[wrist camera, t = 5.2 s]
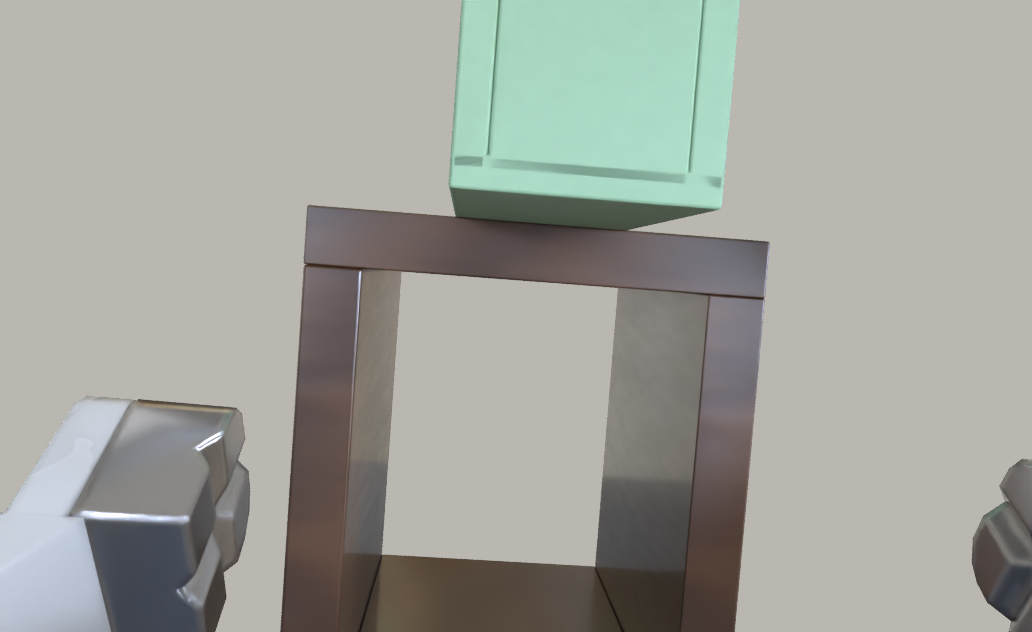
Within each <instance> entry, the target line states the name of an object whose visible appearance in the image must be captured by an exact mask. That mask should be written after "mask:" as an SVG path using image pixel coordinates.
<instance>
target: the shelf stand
mask: <svg viewBox="0 0 1032 632" xmlns="http://www.w3.org/2000/svg"><path fill="white" fill-rule="evenodd" d="M306 219H307V220H306V234H305V251H304V264H307V265H305V266H304V271H303V287H302V302H301V319H300V334H299V350H298V365H297V380H296V396H295V412H294V413H295V414H294V428H293V444H292V459H291V475H290V491H289V506H288V522H287V537H286V553H285V568H284V584H283V600H282V617H281V631H280V632H735V621H736V611H737V600H738V589H739V576H740V567H741V556H742V544H743V534H744V522H745V512H746V501H747V489H748V478H749V467H750V455H751V445H752V434H753V423H754V412H755V401H756V389H757V379H758V368H759V357H760V346H761V335H762V324H763V313H764V302H765V300H764V298H765V291H766V280H767V269H768V258H769V246H770V243H769V242H766V241H753V240H740V239H728V238H716V237H703V236H691V235H677V234H666V233H653V232H641V231H628V230H615V229H603V228H590V227H578V226H565V225H553V224H540V223H527V222H515V221H502V220H490V219H477V218H465V217H452V216H439V215H427V214H414V213H413V214H412V213H402V212H389V211H377V210H364V209H351V208H339V207H338V208H337V207H326V206H314V205H313V206H312V205H308V207H307V218H306ZM401 271H403V272H416V273H430V274H443V275H456V276H469V277H482V278H495V279H508V280H523V281H535V282H548V283H562V284H575V285H588V286H602V287H614V288H618V295H617V309H616V320H615V333H614V345H613V356H612V369H611V382H610V393H609V405H608V418H607V430H606V442H605V455H604V466H603V478H602V490H601V503H600V516H599V528H598V539H597V551H596V563H595V567H591V566H574V565H573V566H572V565H557V564H539V563H521V562H503V561H485V560H468V559H450V558H433V557H415V556H398V555H382V543H383V528H384V514H385V500H386V499H385V498H386V485H387V470H388V456H389V442H390V428H391V427H390V426H391V413H392V399H393V385H394V370H395V356H396V340H397V326H398V312H399V298H400V284H401Z"/></svg>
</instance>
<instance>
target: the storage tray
mask: <svg viewBox="0 0 1032 632" xmlns="http://www.w3.org/2000/svg"><path fill="white" fill-rule="evenodd" d="M739 6H740V0H462V7H461V21H460V35H459V48H458V62H457V76H456V90H455V103H454V117H453V131H452V146H451V159H450V173H449V188H450V192H451V197H452V202H453V206H454V211H455V215H456V217H465V218H477V219H490V220H502V221H515V222H527V223H540V224H553V225H565V226H578V227H590V228H603V229H615V230H629V229H634V228H639V227H643V226H648V225H652V224H657V223H661V222H666V221H670V220H675V219H679V218H684V217H688V216H693V215H697V214H702V213H706V212H711V211H715V210H719V209H721V207H722V198H723V188H724V177H725V166H726V154H727V142H728V132H729V119H730V109H731V97H732V86H733V75H734V63H735V52H736V40H737V28H738V16H739Z"/></svg>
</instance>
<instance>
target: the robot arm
mask: <svg viewBox="0 0 1032 632" xmlns="http://www.w3.org/2000/svg"><path fill="white" fill-rule="evenodd" d="M244 441H245V433H244V425H243V418H242V413H241V412H240V411H239V410H238V409H237V408H232V407H221V406H209V405H198V404H187V403H175V402H164V401H151V400H141V399H138V400H137V401H136V400H130V399H119V398H108V397H95V396H86V397H85V398H83V399H81V400H80V401H78V402H77V403H75V404H74V406H73V407H72V408H71V410H70V412H69V413H68V415H67V416H66V418H65V419H64V421H63V423H62V424H61V426H60V427H59V429H58V430H57V432H56V434H55V435H54V437H53V438H52V440H51V441H50V443H49V444H48V446H47V448H46V449H45V451H44V452H43V454H42V455H41V457H40V459H39V460H38V462H37V463H36V465H35V466H34V468H33V469H32V471H31V472H30V474H29V476H28V477H27V479H26V480H25V482H24V483H23V485H22V487H21V488H20V490H19V491H18V493H17V494H16V496H15V497H14V499H13V501H12V502H11V504H10V505H9V507H8V508H7V510H6V512H5V513H0V632H215V631H216V628H217V624H218V621H219V618H220V615H221V612H222V609H223V606H224V603H225V600H226V590H225V581H224V572H225V571H226V570H228V569H229V568H230V567H231V566H233V565H234V564H235V563H236V562H238V559H239V556H240V552H241V549H242V546H243V542H244V539H245V534H246V528H247V522H248V516H249V507H250V483H249V472H248V470H247V469H246V468H245V467H244V466H243V465H242V464H241V463H240V462H239V461H238V457H239V455H240V452H241V449H242V447H243V444H244ZM1000 489H1001V491H1002V494H1003V497H1004V499H1005V502H1004V503H1003V504H1001V505H999V506H998V507H996V508H995V509H993V510H992V511H990V512H989V513H987V514H986V515H984V516H983V518H982V520H981V522H980V524H979V527H978V529H977V531H976V533H975V535H974V537H973V549H972V565H973V569H974V573H975V577H976V581H977V584H978V586H979V587H980V589H981V591H982V593H983V595H984V597H985V599H986V601H987V603H989V604H990V605H991V606H993V607H994V608H995V609H996V610H998V611H999V612H1000V613H1002V614H1003V615H1004V616H1005V617H1007V618H1008V619H1009V620H1010V621H1011V624H1010V628H1009V632H1032V459H1021V460H1020V461H1019V462H1017V463H1016V464H1015V465H1013V466H1012V467H1011V468H1009V470H1008V472H1007V473H1006V475H1005V477H1004V479H1003V481H1002V482H1001V484H1000Z"/></svg>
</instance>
